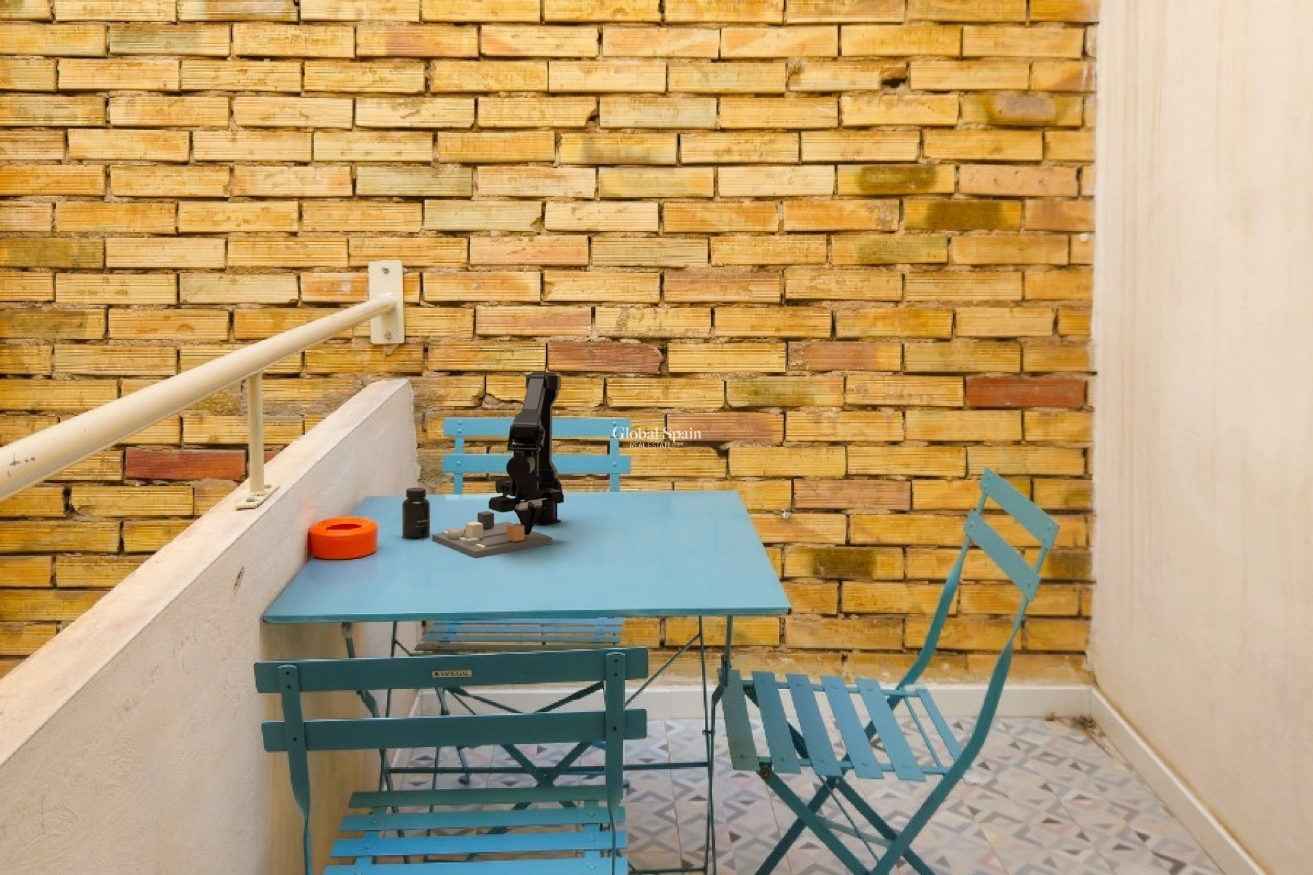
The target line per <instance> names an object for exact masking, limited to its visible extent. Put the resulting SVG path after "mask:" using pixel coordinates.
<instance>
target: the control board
mask: <svg viewBox="0 0 1313 875" xmlns="http://www.w3.org/2000/svg"><path fill="white" fill-rule="evenodd" d="M510 524H514V523H512V522H510V521H503V522H496V523H494V527H490V528H485V529H484V528H483V538H479V539H478V538H467V537H466V528H462V527H451V528H448V529H447V530H446V531H443V532H438V533H433V534H432V535H431V541H433V542H435V543H438V544H441V545H443V546H445V547H448V548H451V549H453V550H454V551H457V552H460V553H463V554H465V555H468V556H471V558H472V557H473V558H475V559H476V558H481V557H488V556H492V555H493V556H494V555H497V554H503V553H507V552H513V551H518V550H524V549H530V548H534V547H538V546H544V545H550V543H551V544H553V537H552V536H550V535H547V534H544V533H541V532H539V531H538V532H537V531H536V530H531V532H530V534H529V535H525V534H524V540H520V541H511V540H508V539H507V525H510Z"/></svg>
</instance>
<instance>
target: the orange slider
mask: <svg viewBox="0 0 1313 875" xmlns="http://www.w3.org/2000/svg"><path fill="white" fill-rule="evenodd" d="M507 539H508V540H511V541H520V540H524V525H521V523H519V522H518V523H513V524H510V525H507Z"/></svg>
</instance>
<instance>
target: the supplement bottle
mask: <svg viewBox="0 0 1313 875" xmlns="http://www.w3.org/2000/svg"><path fill="white" fill-rule="evenodd" d="M405 494H406V495H405V497H406V499H404V500H403V502H402V504H401V505H402V506H401V510H402V511H401V514H402V515H401V516H402V517H401V518H402V519H401V520H402V524H401V526H402V528H401V529H402V530H401V531H402V536H403V538H405V539H408V540H409V539H410V540H420V539H421V540H422V539H426V538H429V536H430V535H431V504H430V503H431V502H430V501H429V500H428V499H427V498H426V497H427V490H426V488H423V487H409V488H406V490H405Z"/></svg>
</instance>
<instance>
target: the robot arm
mask: <svg viewBox="0 0 1313 875" xmlns="http://www.w3.org/2000/svg"><path fill="white" fill-rule="evenodd" d="M561 389H562V377H561V375H558V374H557V372H554V371H532V372H531V373H529V374H526V375H525V390H526V391H525V392H526V393H525V396H524V401H523V404H522V410H521V412H520V413H517V415H515V416H514V419H513V422H512V424H510V427H509V432H508V440H507V441H508V442H507V448H506V450H507V452H513V456H511V458H510V459H509V460H508V461H507V463H506V465H505V470H506V472H507V473H506V474H507V475H508V476H509V478H511V479H510V481H506V479H505V478H504V479H498V480H496V481H495V485H494V486H495V492H496V494H502V495H498V496H492V497H490V499H489V500H488V509H489V510H492V511H495V512H498V513H509V512H514V513H515V514H516V516H517V518H518V520H519V524H521V525H524V534H525V535H529V534H530V532H531V530H532V529H533V528H534V526H535V524H537V525H540V526H545V525H551V524H555V523H561V522H562V520H561V519H559V518H558V504H563V503H564V502H565V495H564V493H563V492H564V491H563V485H562V482H561V479H560V478H559V476H558V469H557V468H556V466H555V465H554V463H553V456H552V455H553V452H552V451H553V407H554V404H555V402H556V401H557V399H558V397H559V394H560V392H559V391H561Z"/></svg>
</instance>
